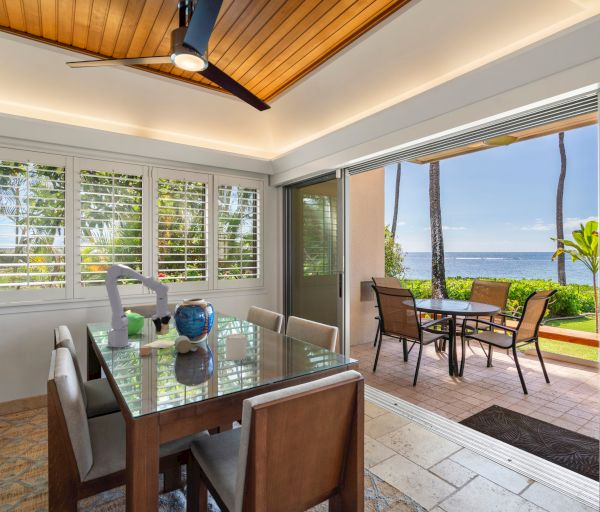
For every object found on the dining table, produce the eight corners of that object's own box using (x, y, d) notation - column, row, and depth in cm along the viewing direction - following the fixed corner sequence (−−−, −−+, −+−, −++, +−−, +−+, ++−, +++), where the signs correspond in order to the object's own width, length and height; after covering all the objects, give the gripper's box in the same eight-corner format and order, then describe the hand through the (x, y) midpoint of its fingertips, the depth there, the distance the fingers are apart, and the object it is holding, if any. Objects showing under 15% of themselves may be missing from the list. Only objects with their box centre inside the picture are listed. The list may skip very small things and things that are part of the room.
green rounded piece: (142, 330, 234) (142, 308, 234) (146, 336, 220) (146, 311, 220) (110, 333, 225) (110, 310, 225) (112, 339, 211) (112, 314, 211)
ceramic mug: (176, 354, 180) (177, 339, 180) (174, 350, 188) (174, 335, 188) (198, 352, 185) (198, 337, 185) (195, 348, 193) (195, 334, 193)
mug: (224, 353, 184) (224, 332, 183) (245, 352, 186) (245, 331, 186) (226, 361, 170) (226, 338, 170) (247, 360, 173) (248, 337, 173)
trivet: (142, 347, 194) (142, 345, 194) (158, 340, 208) (158, 339, 208) (165, 348, 191) (165, 347, 191) (180, 342, 205) (180, 341, 205)
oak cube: (155, 334, 198) (155, 325, 198) (161, 332, 202) (161, 323, 202) (163, 335, 196) (163, 325, 196) (168, 333, 201) (169, 324, 201)
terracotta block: (139, 356, 178) (139, 347, 178) (142, 353, 182) (142, 345, 182) (148, 355, 178) (148, 347, 178) (150, 353, 182) (150, 345, 182)
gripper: (160, 308, 191) (159, 333, 191) (176, 304, 205) (175, 328, 206) (148, 307, 193) (148, 332, 193) (165, 303, 207) (164, 327, 207)
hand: (161, 330), depth 200 cm, fingers closed on oak cube, 5 cm apart
